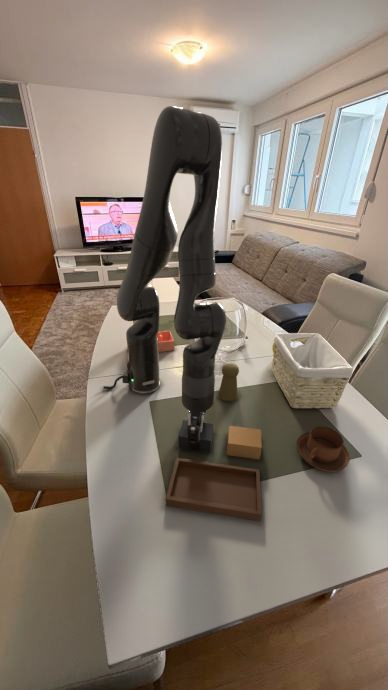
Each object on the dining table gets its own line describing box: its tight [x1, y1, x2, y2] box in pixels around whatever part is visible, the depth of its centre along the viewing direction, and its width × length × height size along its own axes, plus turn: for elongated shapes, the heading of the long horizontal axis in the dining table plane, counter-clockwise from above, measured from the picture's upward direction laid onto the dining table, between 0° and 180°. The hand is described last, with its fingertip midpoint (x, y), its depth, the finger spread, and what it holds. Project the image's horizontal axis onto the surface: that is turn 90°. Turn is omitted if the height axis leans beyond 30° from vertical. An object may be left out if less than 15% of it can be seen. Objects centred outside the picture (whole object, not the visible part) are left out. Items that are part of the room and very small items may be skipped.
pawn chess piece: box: [218, 362, 240, 402], centre depth 91 cm, size 6×6×11 cm
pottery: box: [158, 330, 175, 353], centre depth 119 cm, size 18×10×10 cm, turn 104°
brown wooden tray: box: [165, 457, 262, 522], centre depth 64 cm, size 19×11×2 cm, turn 81°
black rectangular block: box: [178, 419, 215, 454], centre depth 76 cm, size 8×6×4 cm
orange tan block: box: [226, 425, 263, 461], centre depth 74 cm, size 8×6×4 cm
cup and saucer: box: [296, 425, 350, 472], centre depth 72 cm, size 12×12×6 cm
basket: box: [271, 332, 354, 409], centre depth 95 cm, size 24×16×15 cm
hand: (196, 439), depth 76 cm, fingers closed on black rectangular block, 6 cm apart
